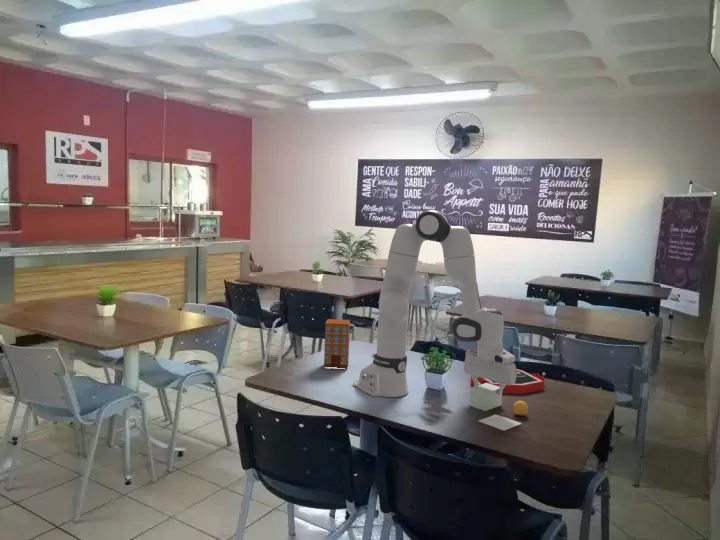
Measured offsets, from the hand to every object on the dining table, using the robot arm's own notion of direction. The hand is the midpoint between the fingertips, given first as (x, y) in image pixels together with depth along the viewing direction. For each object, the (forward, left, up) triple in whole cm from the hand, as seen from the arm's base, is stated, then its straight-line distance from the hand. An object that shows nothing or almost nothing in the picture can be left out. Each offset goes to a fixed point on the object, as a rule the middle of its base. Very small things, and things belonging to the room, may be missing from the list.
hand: (488, 390), depth 201 cm
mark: (+13, -11, -5) cm, 17 cm away
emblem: (-13, +29, -6) cm, 33 cm away
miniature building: (-68, -15, -6) cm, 70 cm away
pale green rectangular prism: (0, -1, -5) cm, 5 cm away
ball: (+13, +1, -3) cm, 13 cm away
